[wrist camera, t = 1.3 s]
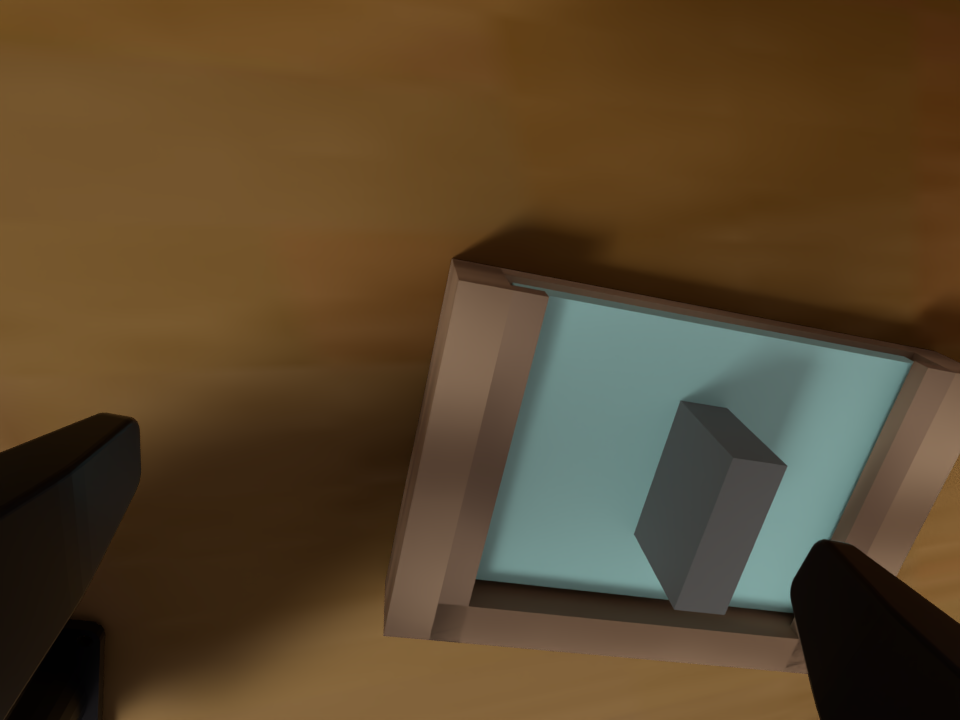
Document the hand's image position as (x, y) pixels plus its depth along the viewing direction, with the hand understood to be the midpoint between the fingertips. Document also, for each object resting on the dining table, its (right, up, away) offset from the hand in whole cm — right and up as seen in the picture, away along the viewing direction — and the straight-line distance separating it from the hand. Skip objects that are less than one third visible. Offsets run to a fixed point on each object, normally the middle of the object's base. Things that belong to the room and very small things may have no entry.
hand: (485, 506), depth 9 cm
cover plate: (+6, -1, +14) cm, 15 cm away
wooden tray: (+6, -2, +15) cm, 16 cm away
